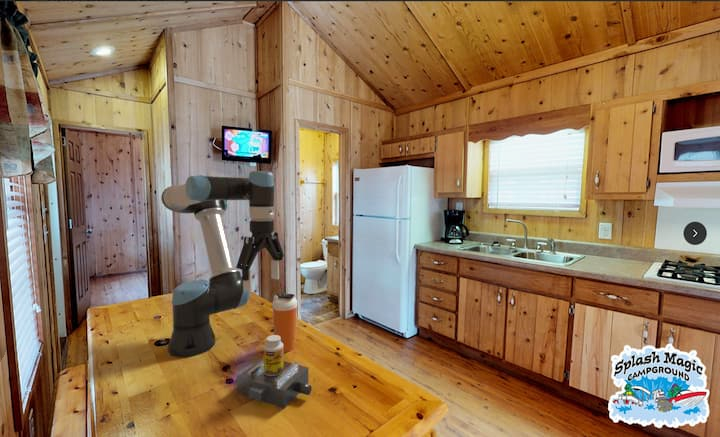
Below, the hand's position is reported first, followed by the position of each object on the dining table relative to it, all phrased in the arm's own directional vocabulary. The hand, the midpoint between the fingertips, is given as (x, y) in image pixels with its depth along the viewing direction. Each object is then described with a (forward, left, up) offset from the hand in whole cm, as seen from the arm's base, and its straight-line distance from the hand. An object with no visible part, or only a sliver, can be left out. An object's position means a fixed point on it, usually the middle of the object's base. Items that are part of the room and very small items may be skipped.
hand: (262, 284), depth 103 cm
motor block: (+14, -11, -27) cm, 32 cm away
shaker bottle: (+1, +11, -27) cm, 29 cm away
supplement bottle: (+12, -10, -22) cm, 27 cm away
